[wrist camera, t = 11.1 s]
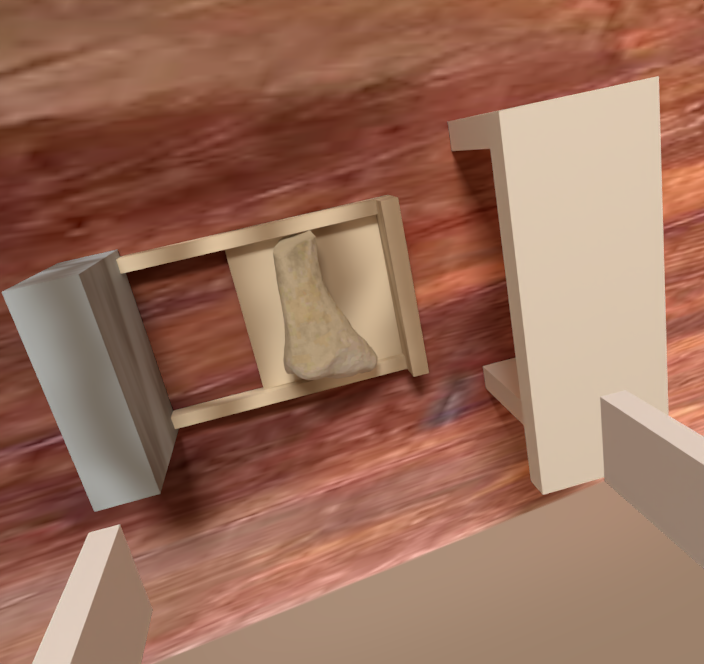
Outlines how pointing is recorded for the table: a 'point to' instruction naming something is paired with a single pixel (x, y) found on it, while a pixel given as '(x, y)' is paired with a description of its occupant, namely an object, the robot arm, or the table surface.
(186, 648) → the table surface
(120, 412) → the rock display tray
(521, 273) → the shelf
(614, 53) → the table surface
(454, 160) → the table surface
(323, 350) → the stone
